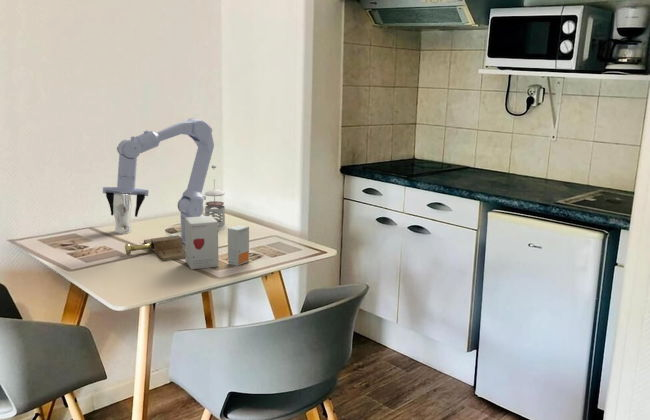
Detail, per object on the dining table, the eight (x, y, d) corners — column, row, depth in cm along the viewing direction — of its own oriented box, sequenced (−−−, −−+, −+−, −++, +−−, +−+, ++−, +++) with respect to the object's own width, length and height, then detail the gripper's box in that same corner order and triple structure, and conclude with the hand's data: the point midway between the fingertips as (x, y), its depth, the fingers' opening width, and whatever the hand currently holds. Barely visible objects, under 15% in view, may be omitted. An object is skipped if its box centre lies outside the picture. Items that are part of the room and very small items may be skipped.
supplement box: (190, 270, 185) (189, 223, 182) (185, 261, 193) (183, 217, 190) (219, 267, 189) (218, 221, 185) (212, 258, 197) (211, 215, 193)
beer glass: (136, 231, 228) (134, 193, 224) (122, 235, 222) (119, 196, 219) (124, 228, 231) (122, 190, 228) (109, 232, 226) (107, 193, 222)
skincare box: (237, 266, 190) (237, 230, 187) (227, 263, 192) (227, 228, 189) (249, 261, 195) (249, 226, 192) (239, 259, 197) (239, 224, 194)
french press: (225, 230, 232) (224, 167, 226) (195, 229, 232) (193, 166, 227) (229, 224, 242) (228, 163, 236) (201, 223, 242) (199, 162, 236)
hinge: (170, 239, 218) (169, 228, 217) (191, 256, 198) (191, 245, 197) (143, 242, 213) (143, 231, 212) (163, 260, 193) (162, 249, 193)
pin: (156, 248, 206) (155, 238, 205) (159, 251, 203) (158, 241, 202) (125, 252, 200) (124, 242, 200) (128, 255, 197) (127, 245, 197)
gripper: (103, 175, 193) (101, 216, 195) (149, 179, 198) (147, 219, 200) (103, 172, 199) (101, 212, 201) (148, 176, 204) (146, 214, 206)
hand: (124, 215), depth 201 cm, fingers open, 7 cm apart
